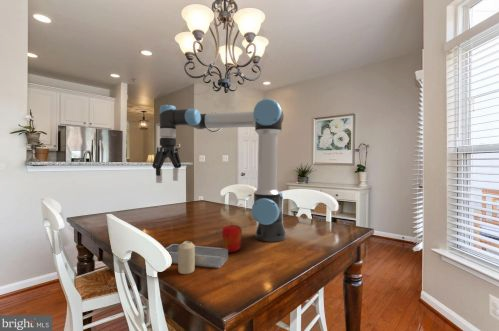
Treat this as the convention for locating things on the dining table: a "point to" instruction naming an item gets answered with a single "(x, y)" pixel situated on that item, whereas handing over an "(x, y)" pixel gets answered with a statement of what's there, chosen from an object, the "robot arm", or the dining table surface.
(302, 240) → the dining table surface
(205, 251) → the gray tray
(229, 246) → the apple
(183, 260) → the candle
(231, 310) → the dining table surface
